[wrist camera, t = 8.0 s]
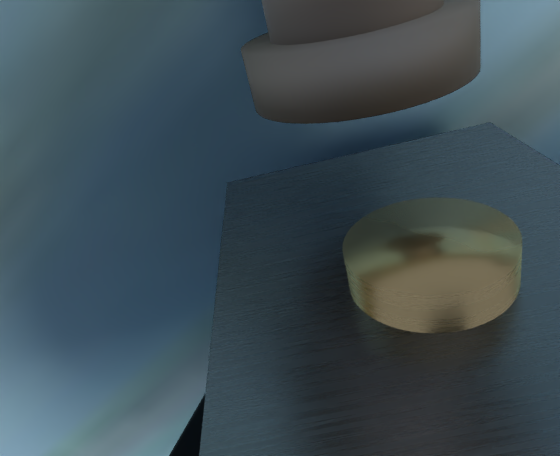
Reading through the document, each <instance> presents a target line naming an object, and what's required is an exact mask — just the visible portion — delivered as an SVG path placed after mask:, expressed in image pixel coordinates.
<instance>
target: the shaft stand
mask: <svg viewBox="0 0 560 456" xmlns="http://www.w3.org/2000/svg"><path fill="white" fill-rule="evenodd" d="M262 5H263V10H264V14H265V19H266V24H267V28H268V33H266V34H263V35H261V36H259V37H257V38H254V39H253V40H251V41H249V42H247V43H246V44H244V45H243V46H242V47H241V52H242V57H243V61H244V65H245V69H246V73H247V77H248V81H249V85H250V89H251V93H252V97H253V101H254V105H255V109H256V112H257V113H258V114H259V115H260V116H262V117H263V118H265V119H269V120H272V121H277V122H284V123H301V124H309V123H328V122H339V121H347V120H355V119H361V118H366V117H372V116H377V115H382V114H387V113H391V112H395V111H399V110H403V109H407V108H410V107H414V106H417V105H420V104H424V103H427V102H429V101H432V100H435V99H438V98H440V97H443V96H445V95H447V94H450V93H452V92H454V91H456V90H458V89H460V88H461V87H463V86H465V85H466V84H468V83H469V82H471V81H472V80H473V79H474V78H475V77H476V76H477V75H478V73H479V72H480V0H262Z"/></svg>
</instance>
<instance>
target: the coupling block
mask: <svg viewBox="0 0 560 456" xmlns="http://www.w3.org/2000/svg"><path fill="white" fill-rule="evenodd" d="M199 456H560V166H559V165H558V164H556V163H555V162H553V161H551V160H550V159H548V158H547V157H545V156H543V155H542V154H540V153H539V152H537V151H535V150H534V149H532V148H531V147H529V146H527V145H526V144H524V143H523V142H521V141H519V140H518V139H516V138H514V137H513V136H511V135H510V134H508V133H506V132H505V131H503V130H502V129H500V128H498V127H497V126H495V125H494V124H492V123H490V122H489V123H485V124H480V125H476V126H472V127H467V128H463V129H459V130H454V131H450V132H446V133H441V134H437V135H433V136H428V137H424V138H420V139H415V140H411V141H407V142H402V143H398V144H393V145H389V146H385V147H380V148H376V149H372V150H367V151H363V152H359V153H354V154H350V155H346V156H341V157H337V158H333V159H328V160H324V161H320V162H315V163H311V164H307V165H302V166H298V167H293V168H289V169H285V170H280V171H276V172H272V173H267V174H263V175H259V176H254V177H250V178H246V179H241V180H237V181H233V182H228V183H227V191H226V200H225V210H224V220H223V229H222V239H221V249H220V258H219V268H218V278H217V287H216V297H215V307H214V317H213V326H212V336H211V346H210V355H209V365H208V375H207V384H206V394H205V404H204V413H203V423H202V433H201V442H200V452H199Z"/></svg>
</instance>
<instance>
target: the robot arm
mask: <svg viewBox="0 0 560 456" xmlns="http://www.w3.org/2000/svg"><path fill="white" fill-rule="evenodd" d="M205 394H206V393H205ZM204 404H205V395H204V396H203V398H202V400H201V402H200V403H199V405H198V407H197V409H196V410H195V412H194V414H193V415H192V417H191V419H190V421H189V422H188V424H187V426H186V428H185V429H184V431H183V433H182V434H181V436H180V438H179V440H178V441H177V443H176V445H175V446H174V448H173V450H172V452H171V453H170V455H169V456H199V452H200V442H201V433H202V423H203V413H204Z"/></svg>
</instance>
